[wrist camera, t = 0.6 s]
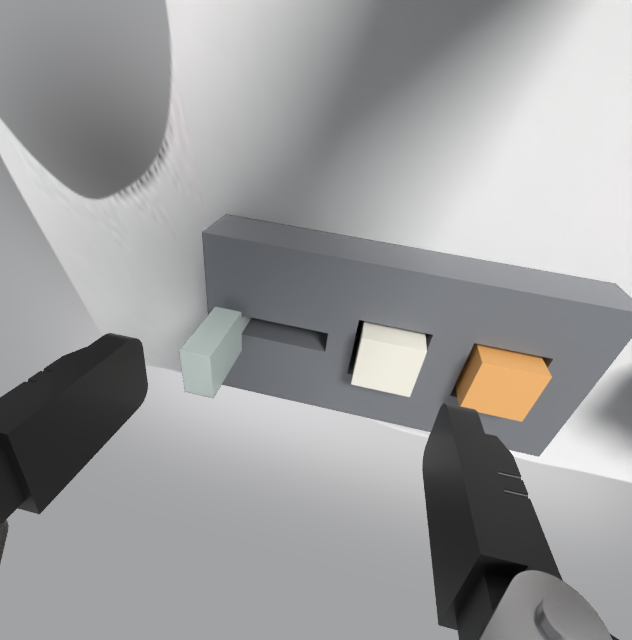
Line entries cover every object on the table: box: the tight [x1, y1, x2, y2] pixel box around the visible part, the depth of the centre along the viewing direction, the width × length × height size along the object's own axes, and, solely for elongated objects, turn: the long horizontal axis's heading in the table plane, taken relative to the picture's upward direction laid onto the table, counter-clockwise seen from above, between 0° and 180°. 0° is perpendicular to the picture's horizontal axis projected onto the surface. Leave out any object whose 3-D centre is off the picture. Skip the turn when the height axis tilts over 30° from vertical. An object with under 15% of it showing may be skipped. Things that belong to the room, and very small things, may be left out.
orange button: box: [455, 343, 552, 422], centre depth 26 cm, size 4×4×4 cm
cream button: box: [351, 321, 427, 397], centre depth 27 cm, size 4×4×4 cm
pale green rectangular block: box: [179, 307, 251, 398], centre depth 26 cm, size 4×2×10 cm, turn 173°
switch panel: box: [202, 214, 632, 456], centre depth 28 cm, size 14×28×4 cm, turn 83°
